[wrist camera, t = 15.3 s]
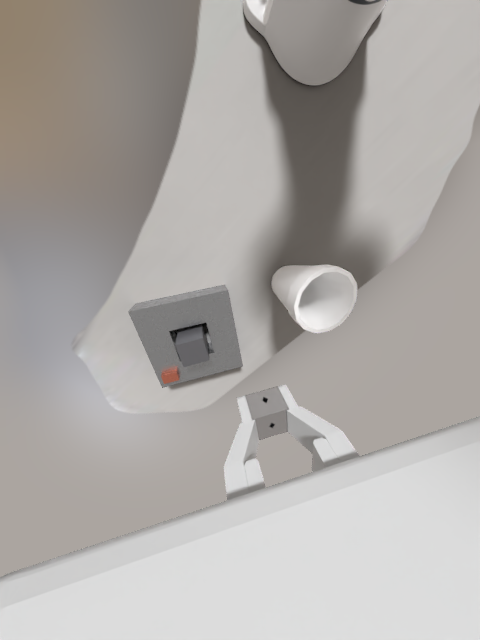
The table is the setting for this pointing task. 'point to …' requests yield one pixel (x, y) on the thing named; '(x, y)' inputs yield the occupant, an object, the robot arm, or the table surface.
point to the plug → (192, 345)
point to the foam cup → (316, 295)
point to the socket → (180, 312)
